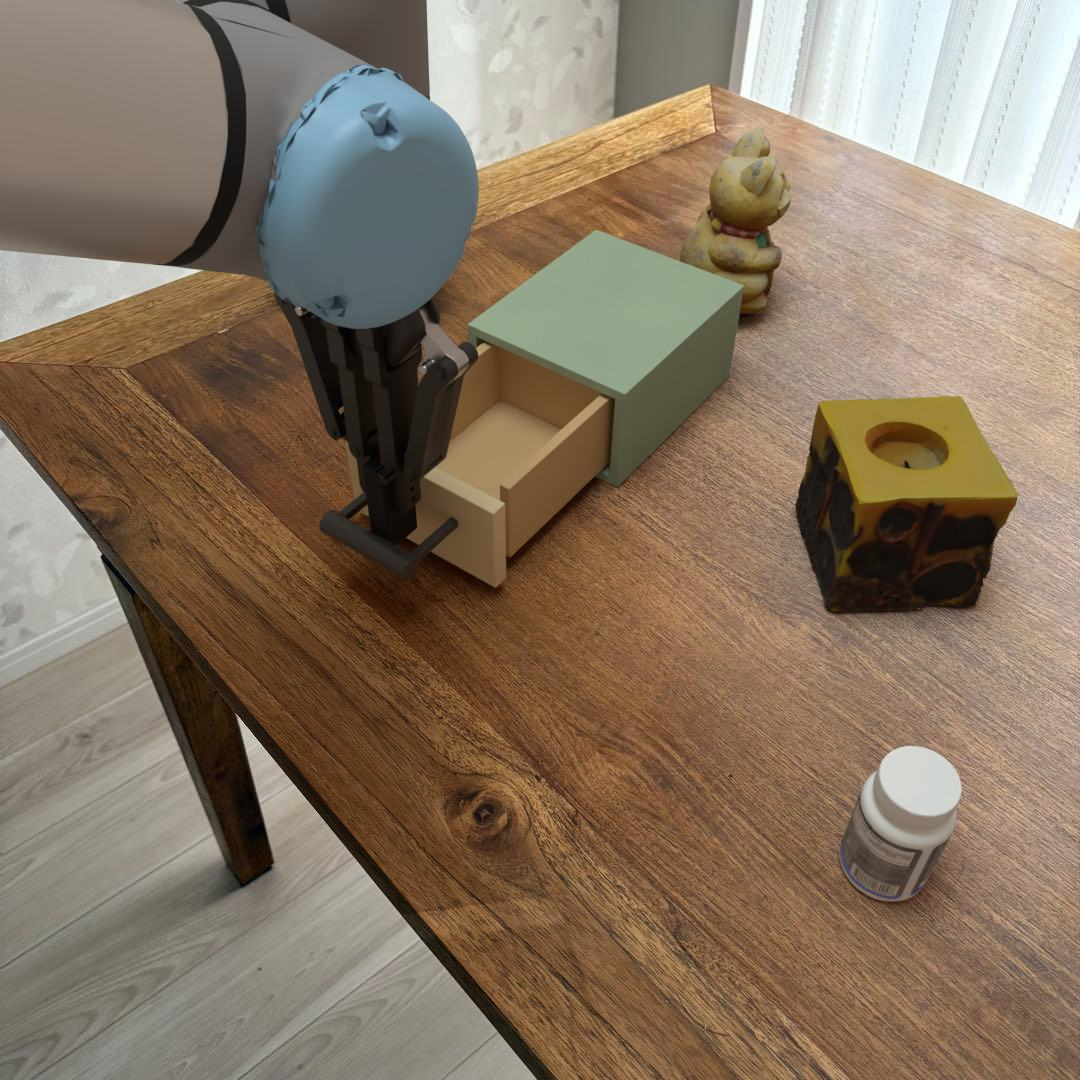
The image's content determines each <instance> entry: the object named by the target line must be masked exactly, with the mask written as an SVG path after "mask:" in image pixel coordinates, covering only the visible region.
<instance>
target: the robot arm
mask: <svg viewBox="0 0 1080 1080" xmlns="http://www.w3.org/2000/svg"><path fill="white" fill-rule="evenodd" d="M427 3H428V1H427V0H0V251H4V252H5V251H6V252H15V253H25V254H38V255H47V256H58V257H66V258H67V257H68V258H79V259H89V260H99V261H101V260H102V261H109V262H110V261H111V262H121V263H132V264H142V265H153V266H161V267H174V268H181V269H190V270H196V271H204V272H214V273H224V274H233V275H244V276H247V277H253V278H256V279H259V280H260V281H264V282H267V284H268V286H269V288H270V289H271V290H272V292H273V297H274V299H275V302H276V303H277V305H278V307H279V308H280V311H281V312H282V314H283V315H284V317H285V319H286V320H287V321H288V324H289V326H290V328H291V330H292V333H293V336H294V339H295V343H296V345H297V348H298V351H299V355H300V356H301V360H302V364H303V366H304V369H305V372H306V374H307V375H306V376H307V377H308V380H309V383H310V387H311V389H312V393H313V395H314V398H315V401H316V404H317V407H318V410H319V413H320V416H321V420H322V422H323V425H324V428H325V430H326V434H328V436H329V437H330V438H331V439H333V440H334V441H339V440H340V439H343V440H344V441H345V440H346V441H347V442H348V446H349V450H350V452H351V454H352V455H353V456H354V457H355V458H356V460H357V468H358V476H359V483H360V486H361V488H362V491H363V492H365V493H366V497H367V505H368V513H369V517H368V520H369V528H370V529H369V530H370V531H371V532H373V533H375V534H377V535H379V536H380V537H382V538H384V539H386V540H387V541H389V542H391V543H393V544H394V545H396V546H398V545H399V544H400V543H402V542H403V541H404V540H405V539H407V538H406V537H407V536H408V535H410V534H411V533H412V532H413V531H414V530H415V529H417V517H416V505H415V504H417V503H418V502H419V501H420V499H421V490H420V489H421V486H420V479H421V478H423V477H424V476H425V475H426V474H427V473H429V472H430V471H431V470H432V469H434V468H435V467H436V466H437V465H438V464H440V463H441V462H442V461H443V460H445V458H446V456H447V451H448V447H449V442H450V438H451V433H452V428H453V424H454V419H455V415H456V410H457V406H458V401H459V397H460V392H461V388H462V383H463V379H464V375H465V374H466V373H467V371H468V370H469V369H470V368H471V367H472V366H473V364H474V363H475V362H476V361H477V359H478V352H477V349H476V348H475V346H474V345H472V344H471V343H470V342H468V341H463V342H461V343H459V345H457V344H456V343H455V342H454V341H453V340H452V339H451V337H450V336H449V335H448V334H447V333H446V332H445V331H444V330H443V328H441V326H440V322H441V312H440V308H439V306H438V304H437V301H436V299H435V295H437V293H438V292H439V291H440V290H441V288H443V286H444V285H445V284H446V283H447V282H448V280H449V279H450V277H452V275H453V274H454V271H455V269H456V268H457V267H458V265H459V264H460V262H461V260H462V258H463V256H464V254H465V248H466V243H467V241H468V239H469V238H470V237H471V233H472V226H473V224H474V222H475V221H476V217H477V213H478V205H479V195H480V194H479V175H478V167H477V164H476V160H475V156H474V153H473V152H474V151H473V150H472V147H471V145H470V143H469V140H468V139H467V136H466V135H465V133H464V132H463V130H462V128H461V127H460V125H459V123H458V122H457V121H456V120H455V119H454V118H453V117H452V116H451V114H449V113H448V112H447V111H446V110H445V109H443V108H442V107H440V106H439V105H438V104H437V103H435V102H433V101H432V100H431V96H430V95H431V94H430V93H431V87H430V86H431V84H430V61H429V32H428V30H429V29H428V27H429V26H428V4H427ZM423 353H424V354H423ZM422 361H423V363H422ZM421 363H422V364H421ZM418 371H419V373H420V374H421V375H422V378H421V379H420V381H419V375H418ZM342 408H343V411H342V412H340V409H342Z"/></svg>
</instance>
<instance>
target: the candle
mask: <svg viewBox="0 0 1080 1080" xmlns="http://www.w3.org/2000/svg"><path fill="white" fill-rule="evenodd" d="M811 430H812V431H811V436H810V442H809V443H810V444H809V448H808V451H809V454H808V456H807V458H806V466H805V470H804V475H803V478H802V480H801V481H800V484H799V488H798V491H797V498H796V501H795V503H794V505H795V513H796V520H797V522H798V523H799V525H800V526H799V531H800V533H801V536H802V537H803V538H804V540H803V541H804V543H805V545H806V550H807V551H808V557H809V560H810V562H811V567H812V568H813V570H814V572H815V575H816V577H817V580H818V585H819V587H820V591H821V593H822V595H823V597H824V601H823V605H825V606H826V607H827V608H829V610H830V611H832V612H855V611H870V612H876V611H877V612H878V611H881V612H882V611H895V610H896V611H911V610H913V609H918V610H922V609H923V608H924V607H925V606H928V605H934V606H950V607H964V608H969V607H976V605H977V603H978V602H979V599H980V594H981V593H982V587H984V580H986V579H987V576H988V574H989V573H990V571H991V564H992V559H993V551H994V545H995V541H996V539H997V537H998V533H999V532H1000V530H1001V529H1002V528H1003V527H1004V526H1005V525H1006V524H1007V521H1008V519H1009V517H1010V514H1011V513H1012V512H1013V510H1014V508H1015V507H1016V505H1017V501H1018V495H1019V494H1018V491H1017V489H1016V487H1015V486H1014V484H1013V482H1012V481H1011V479H1010V478H1009V476H1008V475H1007V473H1006V472H1005V470H1004V468H1003V466H1002V465H1001V463H1000V461H999V460H998V458H997V457H996V455H995V453H994V452H993V449H991V447H990V445H989V444H988V442H987V440H986V438H985V436H984V435H983V433H982V431H981V429H980V428H979V426H978V424H977V422H976V421H975V418H974V416H973V415H972V413H971V411H970V408H969V407H968V405H967V404H966V402H965V400H964V398H962V396H961V395H960V396H957V395H956V396H955V395H945V396H943V395H942V396H918V397H916V396H915V397H902V398H901V397H900V398H879V399H877V398H876V399H867V398H865V399H863V398H861V399H839V400H838V399H837V400H822V401H820V402H818V405H817V408H816V412H815V416H814V421H813V425H812V429H811Z"/></svg>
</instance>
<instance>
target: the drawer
mask: <svg viewBox="0 0 1080 1080" xmlns="http://www.w3.org/2000/svg"><path fill="white" fill-rule="evenodd" d="M476 349H477V352H478V359H477V361H476V362H475V363H474V364H473V366H472V367H471V368H470V369H469V370H468V371H467V373H466V374H465V375H464V379H463V383H462V388H461V392H460V397H459V401H458V406H457V410H456V415H455V419H454V424H453V428H452V433H451V438H450V442H449V447H448V451H447V456H446V458H445V460H443V461H442V462H441V463H440V464H438V465H437V466H436V467H435V468H434V469H432V470H431V471H430V472H429V473H427V474H426V475H425V476H424V477H423V478H421V479H420V486H421V489H420V490H421V499H420V501H419V502H418V503H417V504H415V505H416V517H417V529H415V530H414V531H413V532H412V533H411V534H410V535H408V536H407V537H406V538H405V539H407V540H410V541H411V542H412V543H415V544H416V545H417V546H416V547H415V548H414V549H413V550H411V551H410V552H409V551H407V550H405V549H404V548H401V547H399V546H398V545H397V546H396V545H394V544H393V543H391V542H389V541H387V540H386V539H384V538H382V537H380V536H379V535H377V534H375V533H373V532H371V529H368V528H367V527H365V526H363V525H361V524H359V523H357V522H356V521H354V520H352V518H353V517H354V516H355V515H357V514H358V513H361V514H363V515H364V516H367V517H368V518H369V513H368V505H367V497H366V493H365V492H363V491H362V488H361V486H360V483H359V476H358V468H357V460H356V458H355V457H354V456H353V455H352V454H351V452H350V450H349V446H348V442H347V441H346V440H344V441H345V447H346V455H347V461H348V467H349V468H348V469H349V473H350V474H349V475H350V481H351V487H352V494H353V500H352V501H351V502H350V503H348V504H347V505H346V506H345V507H343V508H342V509H341V510H340V511H339V512H338V511H336V510H335V509H331V510H330V509H329V510H328V511H326V512H325V513H324V514H323V515H322V517H321V518H320V521H319V524H318V529H319V531H320V533H322V534H324V535H325V536H328V537H329V538H331V539H332V540H335V541H336V542H337V543H340V544H341V545H343V546H345V547H346V548H348V549H349V550H352V551H353V552H355V553H357V554H359V555H360V556H362V557H363V558H365V559H367V560H368V561H371V562H372V563H374V564H375V565H377V566H379V567H380V568H382V569H384V570H386V571H388V572H389V573H390V574H393V575H395V576H396V577H398V578H400V579H401V580H403V581H406V582H407V581H409V580H411V579H412V578H414V576H415V575H416V574H417V572H418V571H419V568H420V562H421V561H422V560H423V559H424V558H425V557H426V556H427V555H428V554H430V553H432V554H434V555H436V556H438V557H440V558H441V559H443V560H445V561H447V562H448V563H450V564H452V565H454V566H456V567H457V568H459V569H460V570H463V571H465V572H466V573H467V574H470V575H472V576H473V577H475V578H477V579H479V580H481V581H482V582H484V583H486V584H487V585H489V586H491V587H493V588H498V587H499V585H500V584H501V583H502V582H503V581H504V580H505V579H507V557H508V558H512V557H513V556H514V555H515V554H516V552H518V551H519V550H520V549H521V548H522V547H523V546H524V545H525V544H526V543H527V542H529V541H530V539H531V538H533V536H535V534H537V533H538V532H539V531H540V530H541V529H542V528H543V527H545V525H546V524H547V523H548V522H549V521H550V520H551V519H552V518H553V517H554V516H555V515H556V514H557V513H558V512H560V510H561V509H563V508H564V506H566V504H568V503H569V502H570V501H571V500H572V499H573V498H574V497H575V496H576V495H577V494H578V493H579V492H580V491H581V490H582V489H583V488H584V487H585V486H587V484H589V483H590V482H591V481H592V479H594V478H596V477H595V476H596V475H597V474H598V473H599V472H600V471H601V470H602V469H603V468H604V467H605V466H606V465H607V464H608V463H609V462H610V461H611V447H612V434H613V420H614V407H615V399H614V398H612V397H609V396H607V395H605V394H603V393H600V392H598V391H596V390H594V389H592V388H589V387H587V386H585V385H583V384H580V383H578V382H576V381H574V380H572V379H569V378H567V377H565V376H563V375H560V374H558V373H556V372H554V371H551V370H549V369H547V368H545V367H543V366H540V365H538V364H536V363H534V362H531V361H529V360H527V359H525V358H523V357H520V356H518V355H516V354H514V353H511V352H509V351H507V350H505V349H502V348H500V347H498V346H496V345H494V344H491V343H489V342H487V341H485V342H483V343H482V344H481V345H479V346H478V347H477V348H476Z"/></svg>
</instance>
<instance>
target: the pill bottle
mask: <svg viewBox="0 0 1080 1080" xmlns="http://www.w3.org/2000/svg"><path fill="white" fill-rule="evenodd" d="M879 763H880V764H879V766H878V768H877V770H875V771H874V772H872V773H871V774H870V775H869V776H868V777H867V779H866V780H865V782H864V783H863V785H862V787H861V789H860V792H859V795H858V798H857V801H856V803H855V806H854V809H853V811H852V813H851V815H850V818H849V821H848V823H847V826H846V829H845V830H844V831H845V832H844V834H843V836H842V839H841V842H840V845H839V851H838V852H839V854H838V857H839V862H840V866H841V868H842V870H843V873H844V875H845V876H846V878H847V879H848V881H849V882H850V883H851V884H852V885H853V887H855V889H857V890H858V891H859V892H861V893H863V894H864V895H866V896H867V897H870V898H872V899H874V900H876V901H881V902H890V903H891V902H893V903H894V902H895V903H896V902H902V901H906V900H909V899H911V898H913V897H915V896H916V895H918V893H920V892H921V891H922V890H923V888H924V887H925V885H926V884H927V882H928V880H929V878H930V877H931V874H932V872H933V871H934V868H935V866H936V865H937V863H938V861H939V859H940V858H941V856H942V855H943V852H944V851H945V848H946V847H947V844H948V842H949V840H950V839H951V837H952V835H953V832H954V830H955V828H956V824H957V820H958V811H957V809H958V808H957V807H958V806H959V803H960V801H961V797H962V792H963V786H962V781H961V777H960V775H959V773H958V772H957V770H956V768H955V767H954V765H953V764H952V763H951V762H950V761H949V760H948V759H946V758H945V757H944V756H943V755H941V754H940V753H938V752H936V751H935V750H933V749H931V748H930V749H929V748H927V747H922V746H918V745H904V746H900V747H897V748H895V749H892V750H891V751H889V752H888V753H887V754H886V755H885V756H884V757H883V758H882V760H881V762H879Z"/></svg>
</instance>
